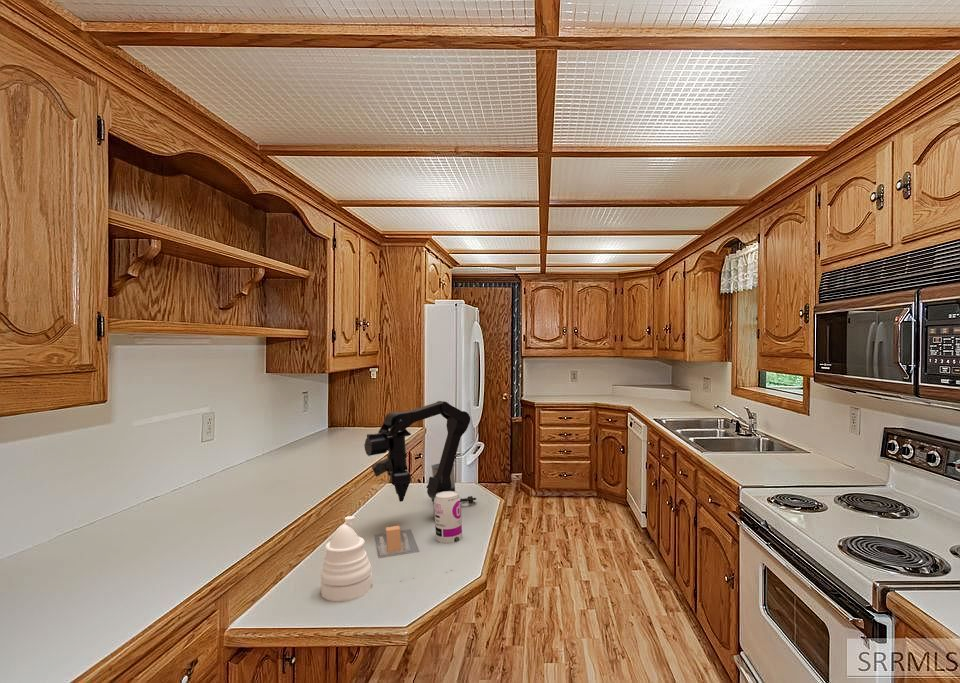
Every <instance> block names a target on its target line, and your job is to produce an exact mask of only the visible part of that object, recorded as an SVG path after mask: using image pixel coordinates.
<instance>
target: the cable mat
mask: <svg viewBox="0 0 960 683" xmlns="http://www.w3.org/2000/svg"><path fill="white" fill-rule="evenodd" d="M403 533H406V535H407V538H408V544H409V547H410V550H411V552H406V553H400V554H394V555H387V556H381V557H380V554H379V549H378V546H380V538H379V537H381V536H383V539H384V545H387V539H386V532H382V533H376V534H373V536H374V541H375V546H376V547H375V548H376V551H377V552H376V553H377V557H378V559H383V558H389V557H395V556H402V555H409V554H414V553H420V552H421V551H420V549H419V546H418V544H417V542H416V539H415V536H414V533H413V532H412V529H411V528H410V529H403V530H400V535H401V543H402V542H403Z"/></svg>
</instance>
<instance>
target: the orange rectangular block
mask: <svg viewBox="0 0 960 683" xmlns="http://www.w3.org/2000/svg"><path fill="white" fill-rule="evenodd" d="M400 531H401V527H400V525H394V526H387V527H386V526H385V533H386V539H387V550H388V551H391V550H398V549H401V535H400Z"/></svg>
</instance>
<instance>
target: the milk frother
mask: <svg viewBox="0 0 960 683" xmlns="http://www.w3.org/2000/svg"><path fill="white" fill-rule="evenodd" d="M439 464H440V463H435V464H432V465H431V470H432V477H434V476H435V475H436V474H437V471H438V467H439ZM450 479H451V485H452V487H451V491H454V492H456V483H455V481H456V480H455V463H454V464H453V468H452V472H451V476H450ZM476 500H477V497H473V496H472V495H470V496H467V497H465V498H460V503H465V502H468V504H473V503H474V501H476ZM432 503H433V505H434V502H433V501H432Z"/></svg>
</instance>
